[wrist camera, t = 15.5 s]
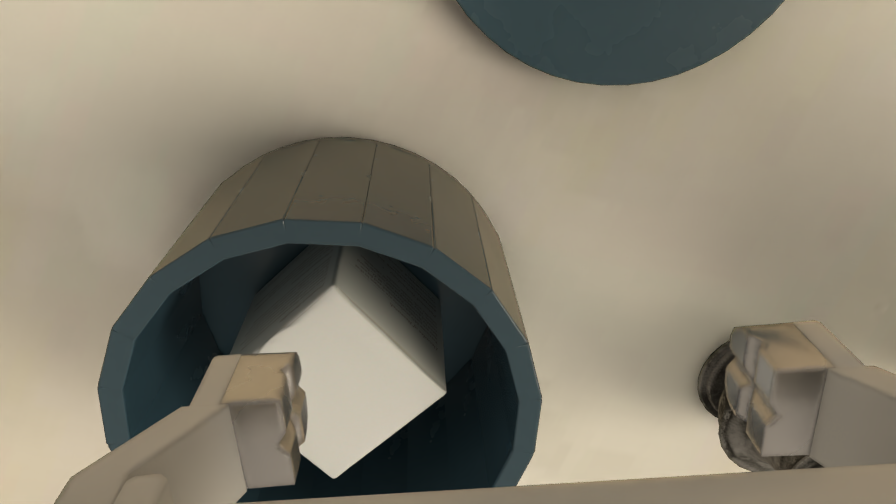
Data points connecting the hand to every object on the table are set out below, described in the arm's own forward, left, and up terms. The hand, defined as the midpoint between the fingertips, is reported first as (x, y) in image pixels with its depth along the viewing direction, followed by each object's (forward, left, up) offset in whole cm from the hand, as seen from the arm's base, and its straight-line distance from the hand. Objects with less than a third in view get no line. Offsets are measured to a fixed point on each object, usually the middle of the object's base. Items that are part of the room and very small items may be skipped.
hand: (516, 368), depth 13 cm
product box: (+8, -5, -18) cm, 20 cm away
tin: (+8, -5, -18) cm, 20 cm away
